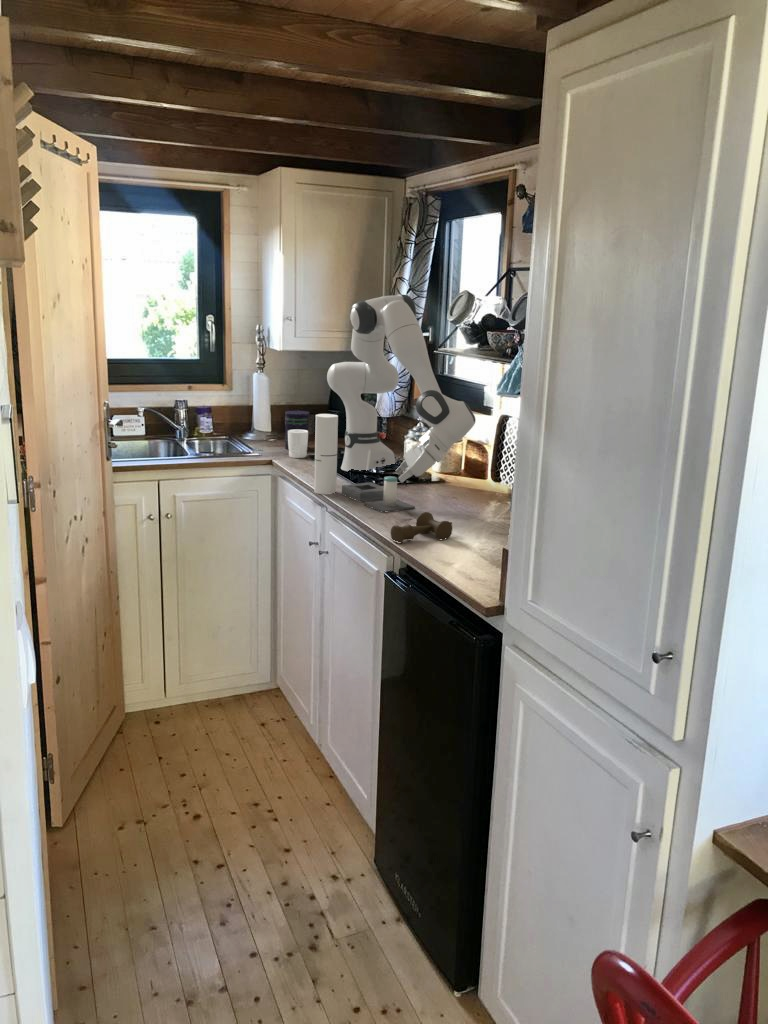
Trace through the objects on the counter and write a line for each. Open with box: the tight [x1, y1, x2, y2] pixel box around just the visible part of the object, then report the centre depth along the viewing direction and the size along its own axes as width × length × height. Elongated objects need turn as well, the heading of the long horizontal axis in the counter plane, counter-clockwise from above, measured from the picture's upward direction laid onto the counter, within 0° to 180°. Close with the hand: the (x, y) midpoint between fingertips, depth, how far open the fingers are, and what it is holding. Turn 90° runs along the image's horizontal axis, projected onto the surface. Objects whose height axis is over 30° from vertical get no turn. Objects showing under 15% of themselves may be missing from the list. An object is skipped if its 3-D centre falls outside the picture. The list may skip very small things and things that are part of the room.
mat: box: [364, 498, 416, 513], centre depth 259 cm, size 12×10×1 cm
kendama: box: [390, 511, 453, 543], centre depth 228 cm, size 6×10×20 cm
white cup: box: [288, 429, 309, 459], centre depth 326 cm, size 8×8×10 cm
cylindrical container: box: [313, 413, 339, 495], centre depth 271 cm, size 7×7×25 cm
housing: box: [341, 481, 384, 502], centre depth 270 cm, size 11×11×3 cm
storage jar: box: [284, 409, 310, 451], centre depth 340 cm, size 10×10×15 cm
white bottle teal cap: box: [382, 475, 398, 506], centre depth 258 cm, size 4×4×8 cm
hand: (398, 476), depth 257 cm, fingers open, 8 cm apart
